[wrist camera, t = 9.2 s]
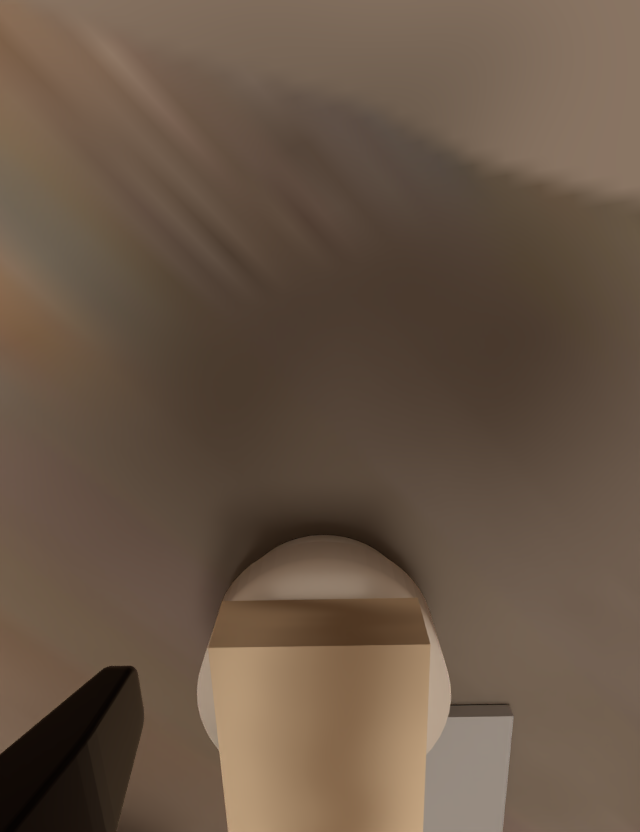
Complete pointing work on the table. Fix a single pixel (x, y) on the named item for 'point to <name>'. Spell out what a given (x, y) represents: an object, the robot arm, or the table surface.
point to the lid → (322, 714)
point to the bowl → (331, 579)
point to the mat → (469, 771)
